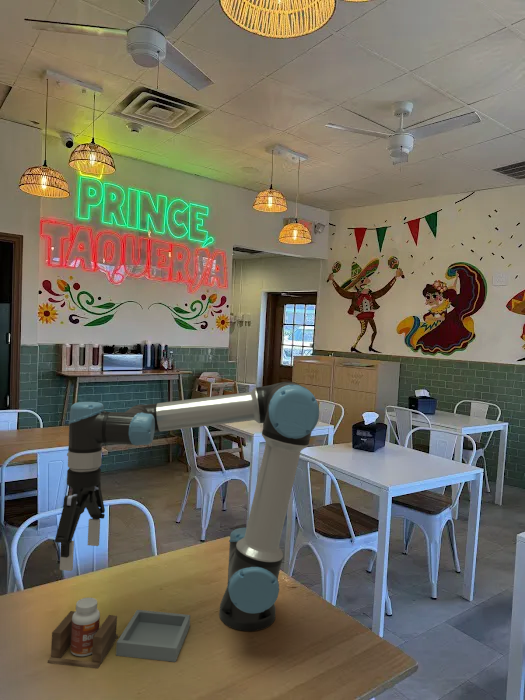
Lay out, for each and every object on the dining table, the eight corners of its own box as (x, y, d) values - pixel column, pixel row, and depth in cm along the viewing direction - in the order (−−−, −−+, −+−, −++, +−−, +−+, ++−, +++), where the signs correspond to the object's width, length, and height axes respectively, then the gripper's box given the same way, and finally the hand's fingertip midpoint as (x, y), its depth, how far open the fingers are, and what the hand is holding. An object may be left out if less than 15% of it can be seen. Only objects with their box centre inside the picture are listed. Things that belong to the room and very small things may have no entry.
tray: (189, 626, 127) (190, 615, 127) (175, 661, 113) (176, 648, 113) (136, 621, 128) (137, 609, 128) (116, 655, 114) (116, 642, 114)
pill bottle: (82, 661, 111) (85, 612, 111) (64, 651, 114) (66, 604, 114) (104, 647, 117) (106, 600, 116) (85, 638, 120) (88, 592, 119)
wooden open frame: (117, 636, 121) (119, 612, 121) (97, 668, 109) (99, 641, 109) (72, 632, 122) (73, 607, 122) (47, 662, 110) (48, 636, 110)
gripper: (92, 454, 130) (89, 535, 130) (40, 481, 105) (36, 580, 105) (120, 456, 129) (116, 537, 129) (73, 483, 104) (69, 583, 104)
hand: (80, 556), depth 117 cm, fingers open, 13 cm apart
